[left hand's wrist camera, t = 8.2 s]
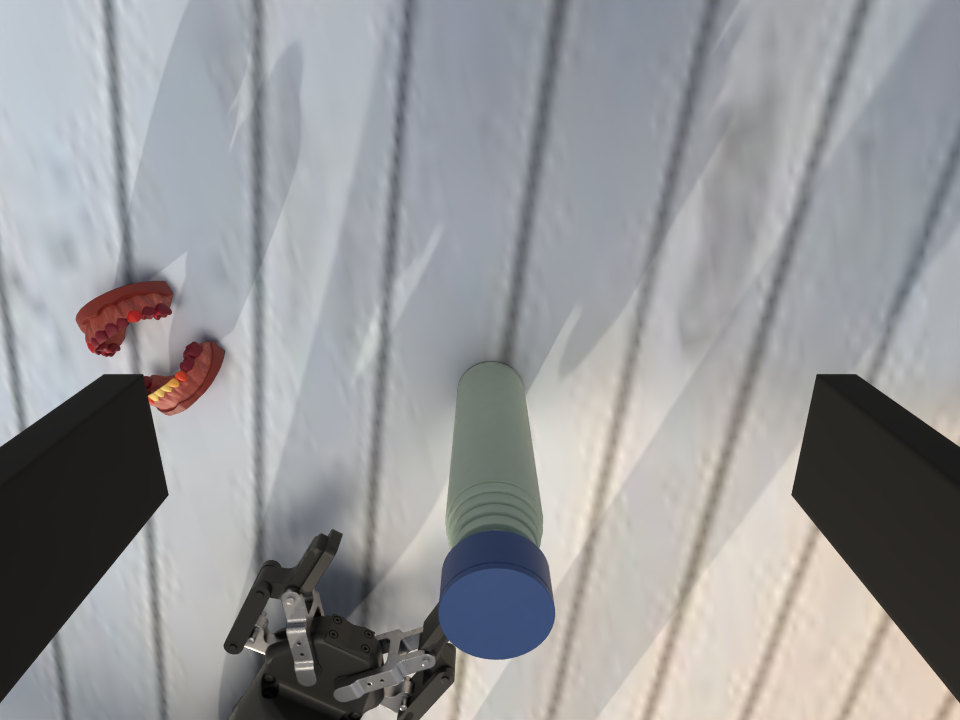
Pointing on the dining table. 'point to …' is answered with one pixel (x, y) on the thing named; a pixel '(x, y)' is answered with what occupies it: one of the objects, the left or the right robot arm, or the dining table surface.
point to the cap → (496, 595)
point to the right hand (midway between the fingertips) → (396, 569)
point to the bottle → (492, 458)
